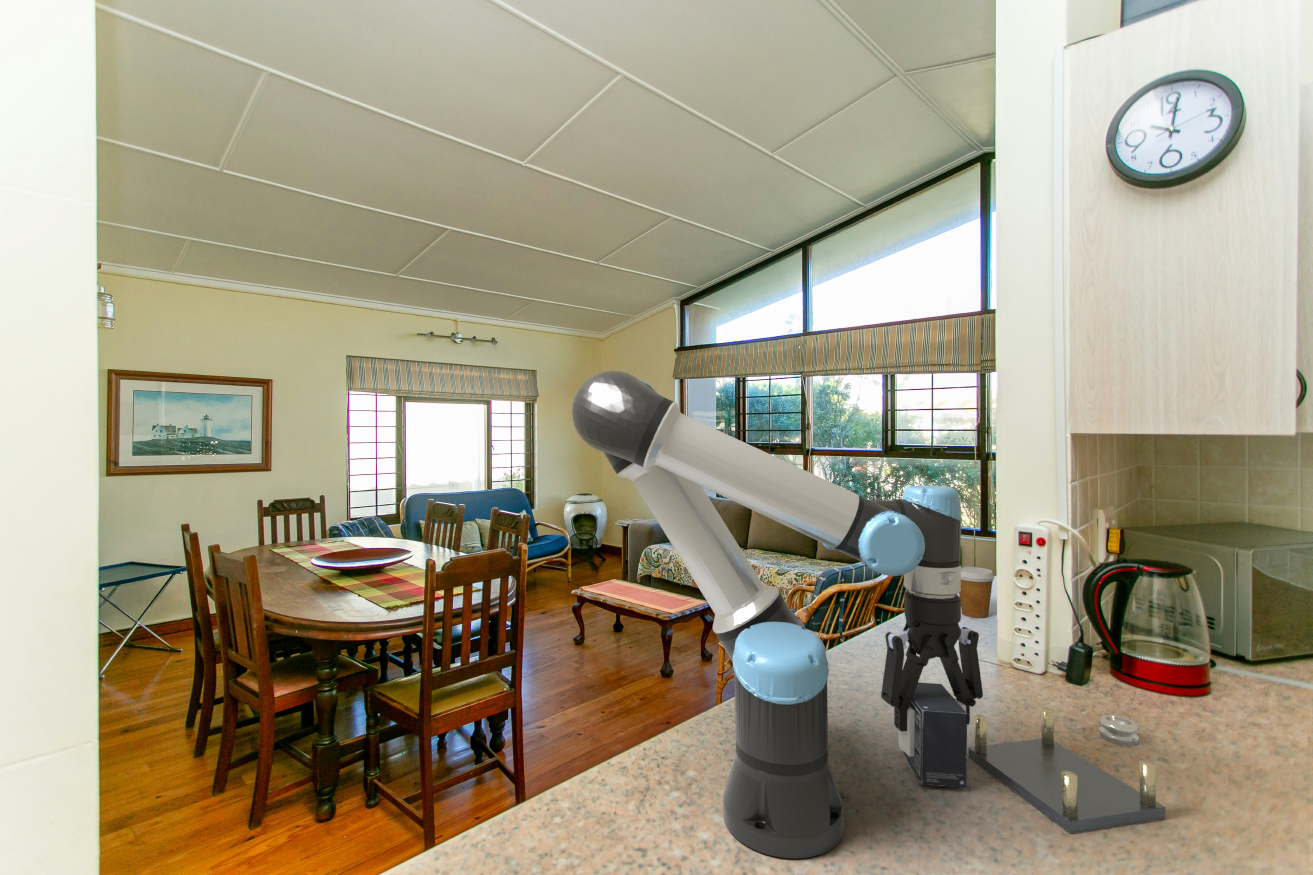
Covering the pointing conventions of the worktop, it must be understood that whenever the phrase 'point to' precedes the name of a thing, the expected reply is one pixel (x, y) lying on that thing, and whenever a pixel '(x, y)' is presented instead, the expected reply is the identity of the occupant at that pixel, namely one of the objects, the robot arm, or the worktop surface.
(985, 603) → the disposable coffee cup
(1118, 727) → the metal grooved wheel
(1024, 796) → the chassis
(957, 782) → the small box
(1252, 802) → the worktop surface
